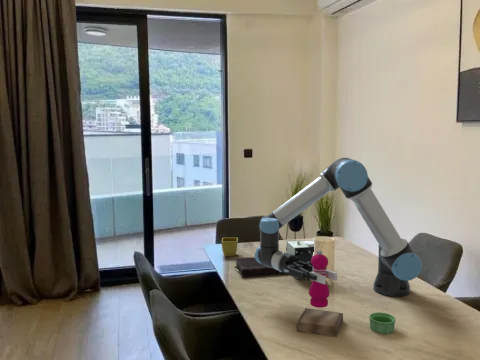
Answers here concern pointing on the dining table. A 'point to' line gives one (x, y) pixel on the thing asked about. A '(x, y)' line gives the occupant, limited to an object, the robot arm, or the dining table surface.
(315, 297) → the pepper mill
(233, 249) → the flower pot
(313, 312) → the plinth
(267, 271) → the diary
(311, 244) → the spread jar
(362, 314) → the dining table surface
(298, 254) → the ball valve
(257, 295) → the dining table surface
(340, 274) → the dining table surface
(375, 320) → the ramekin
